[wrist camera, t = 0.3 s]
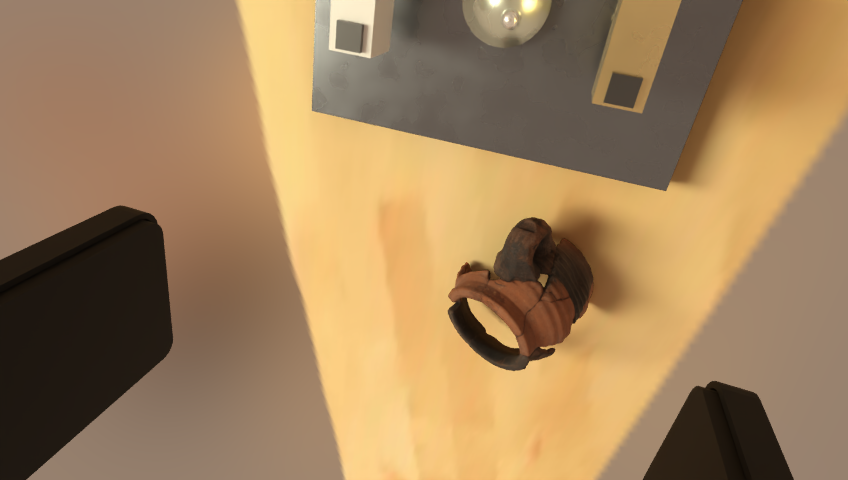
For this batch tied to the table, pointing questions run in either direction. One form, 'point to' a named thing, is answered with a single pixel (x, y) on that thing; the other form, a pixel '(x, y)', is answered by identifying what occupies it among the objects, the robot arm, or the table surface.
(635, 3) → the wooden bar knob
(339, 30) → the white t-shaped handle
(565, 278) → the brown curved hollow piece
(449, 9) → the levelling plate
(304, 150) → the table surface
